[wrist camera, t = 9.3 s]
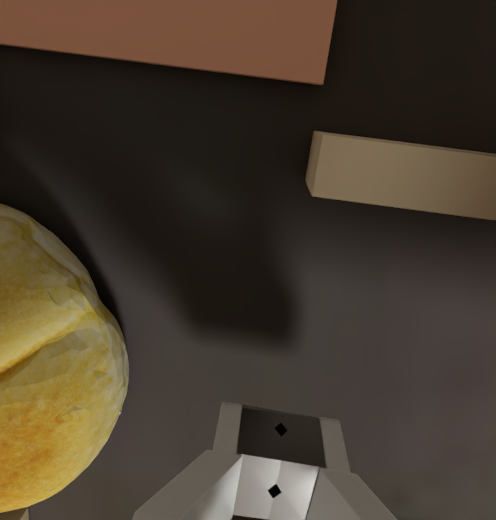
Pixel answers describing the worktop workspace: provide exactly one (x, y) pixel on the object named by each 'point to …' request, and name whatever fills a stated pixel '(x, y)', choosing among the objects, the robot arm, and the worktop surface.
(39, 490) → the bread roll
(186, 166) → the worktop surface
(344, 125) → the worktop surface
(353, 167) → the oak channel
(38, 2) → the trap pads
